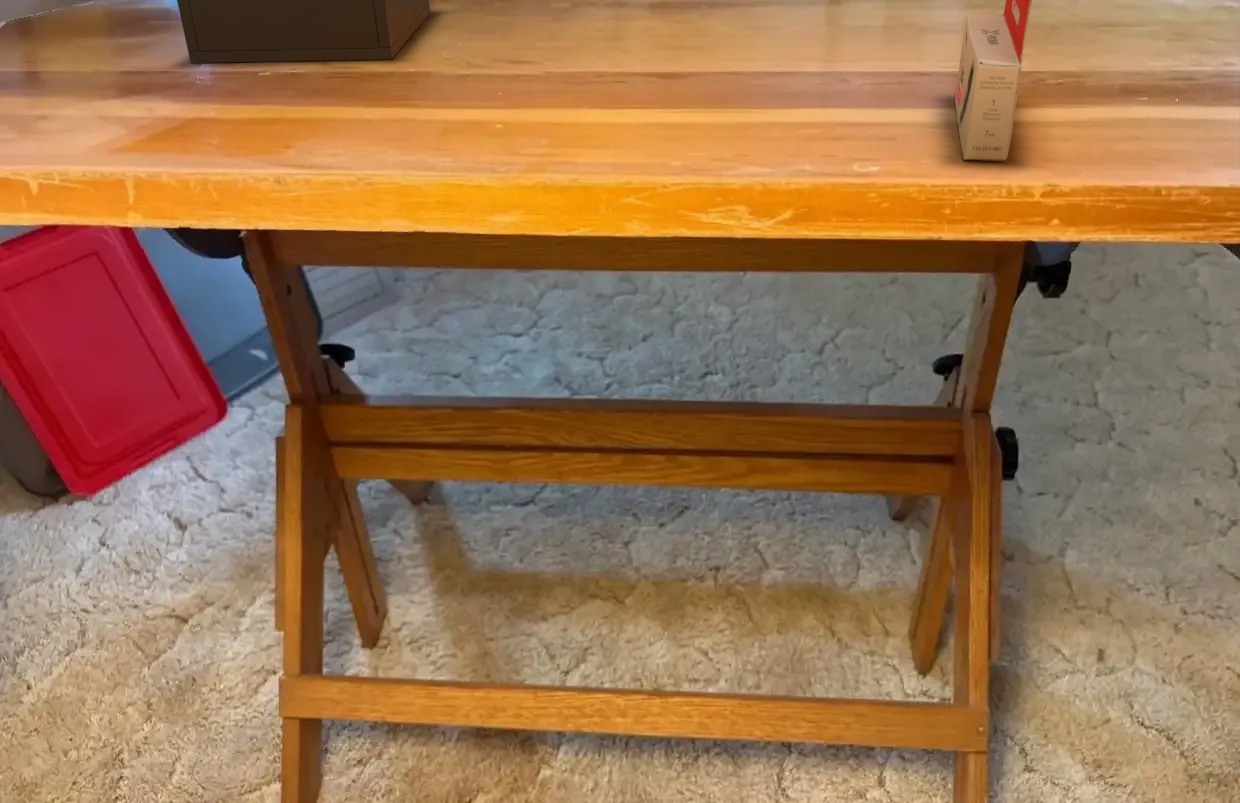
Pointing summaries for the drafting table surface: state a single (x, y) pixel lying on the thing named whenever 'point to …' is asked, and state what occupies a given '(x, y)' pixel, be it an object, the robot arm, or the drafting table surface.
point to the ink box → (990, 80)
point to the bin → (298, 29)
